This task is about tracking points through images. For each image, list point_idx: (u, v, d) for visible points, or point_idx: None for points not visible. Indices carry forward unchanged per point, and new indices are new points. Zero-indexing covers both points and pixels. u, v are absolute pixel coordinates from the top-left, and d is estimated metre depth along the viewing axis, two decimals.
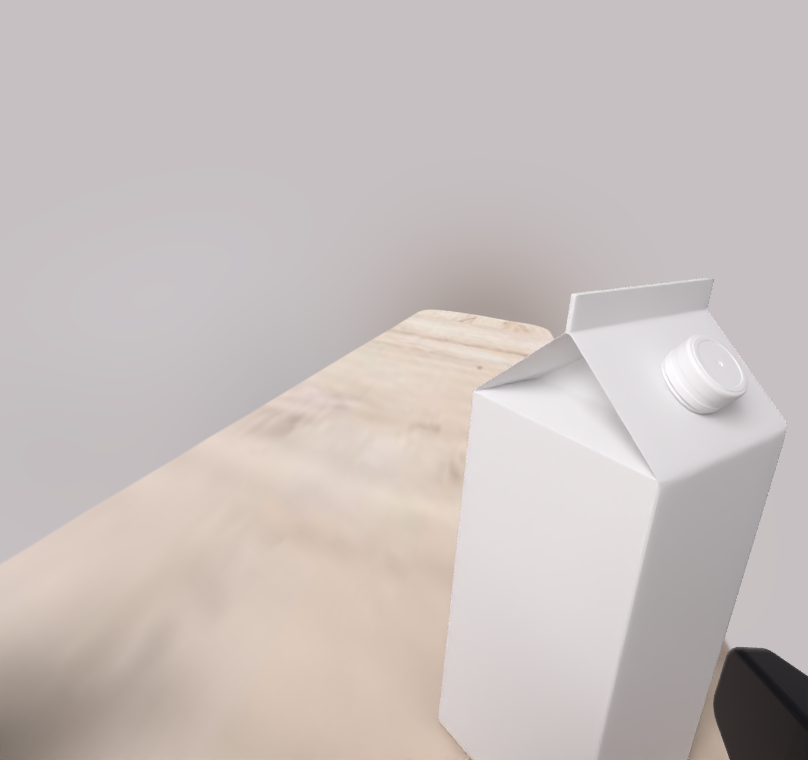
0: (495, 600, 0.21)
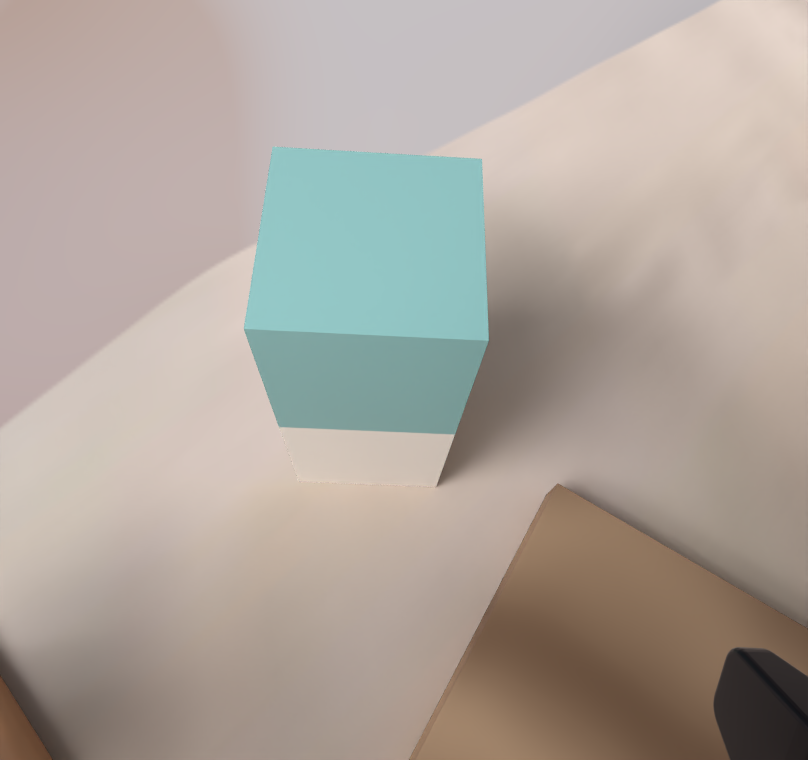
0: None
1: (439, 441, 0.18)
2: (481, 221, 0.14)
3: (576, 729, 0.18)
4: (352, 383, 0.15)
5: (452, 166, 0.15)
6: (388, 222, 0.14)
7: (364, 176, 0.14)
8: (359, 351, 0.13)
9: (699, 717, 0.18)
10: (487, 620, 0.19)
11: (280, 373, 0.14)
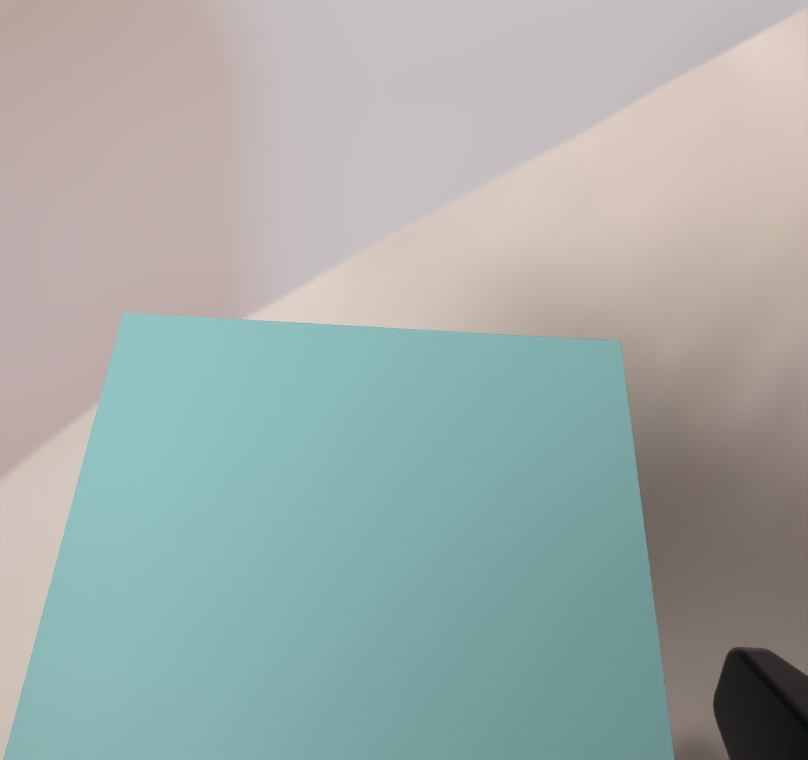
0: None
1: None
2: (637, 528, 0.05)
3: None
4: None
5: (553, 363, 0.06)
6: (400, 536, 0.05)
7: (340, 394, 0.06)
8: None
9: None
10: None
11: None
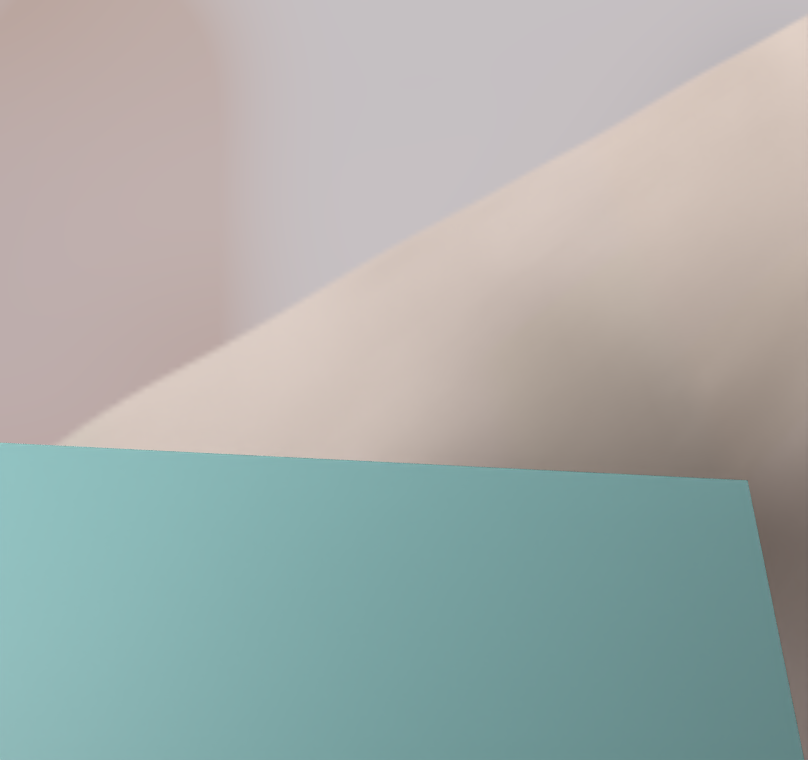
0: None
1: None
2: None
3: None
4: None
5: (644, 521, 0.04)
6: None
7: (302, 583, 0.04)
8: None
9: None
10: None
11: None
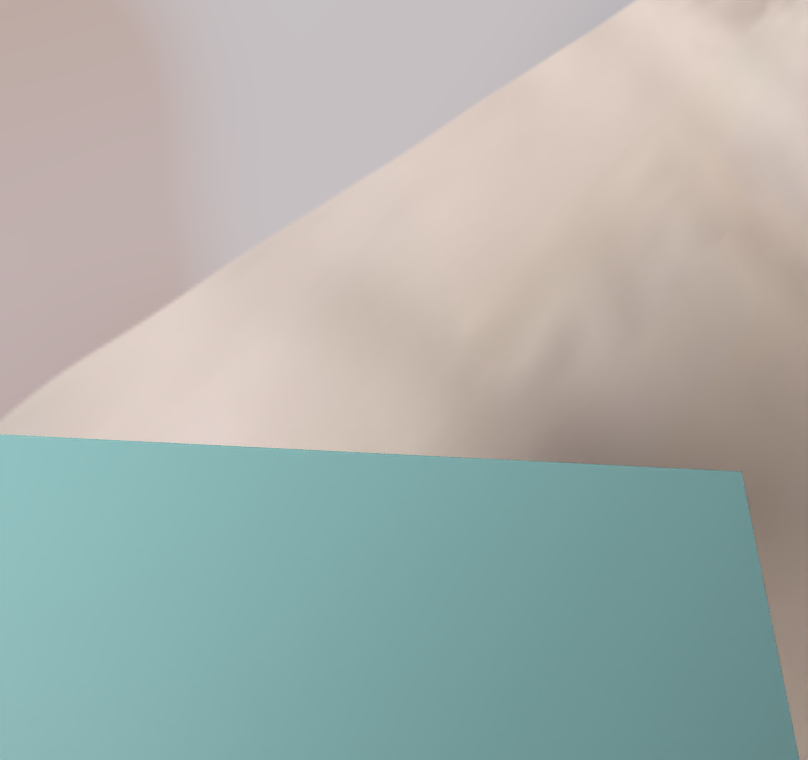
0: None
1: None
2: None
3: None
4: None
5: (637, 512, 0.04)
6: None
7: (297, 575, 0.04)
8: None
9: None
10: None
11: None
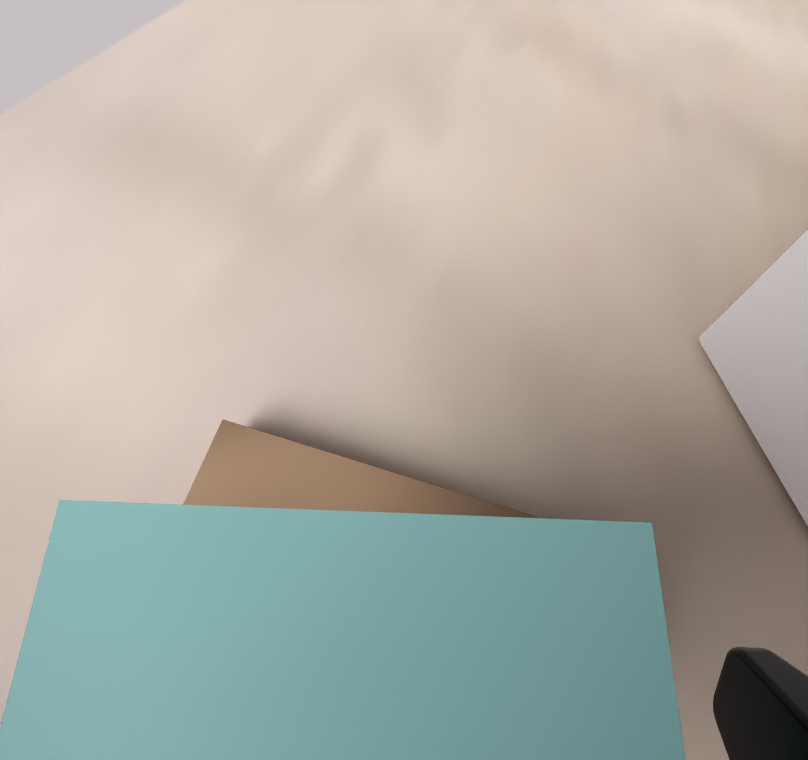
0: None
1: None
2: None
3: None
4: None
5: (572, 554, 0.05)
6: None
7: (320, 606, 0.05)
8: None
9: None
10: None
11: None
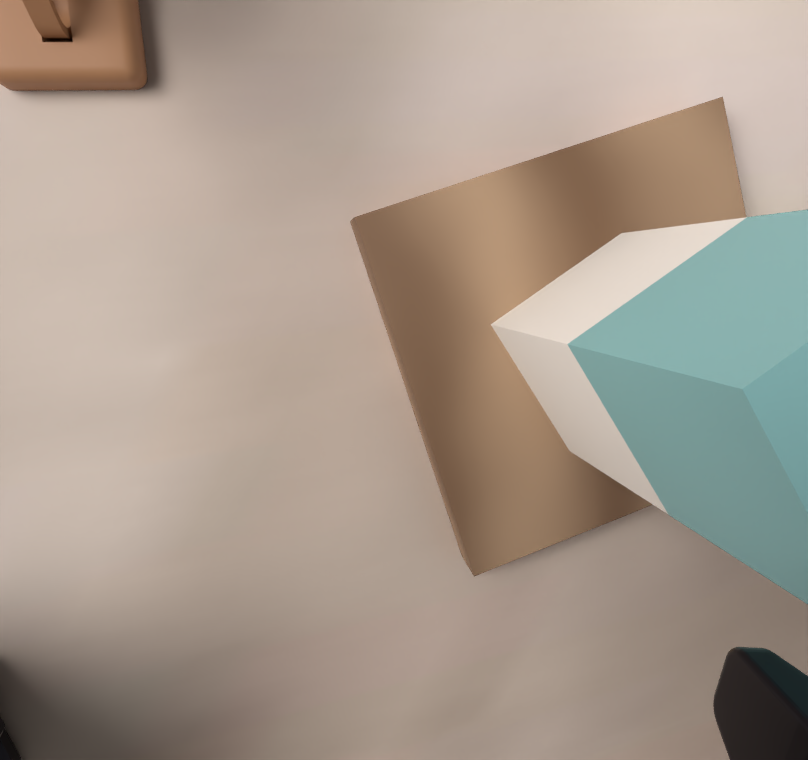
0: None
1: (646, 493, 0.15)
2: None
3: None
4: (698, 460, 0.11)
5: None
6: None
7: None
8: (773, 502, 0.10)
9: None
10: (569, 147, 0.19)
11: (669, 391, 0.10)
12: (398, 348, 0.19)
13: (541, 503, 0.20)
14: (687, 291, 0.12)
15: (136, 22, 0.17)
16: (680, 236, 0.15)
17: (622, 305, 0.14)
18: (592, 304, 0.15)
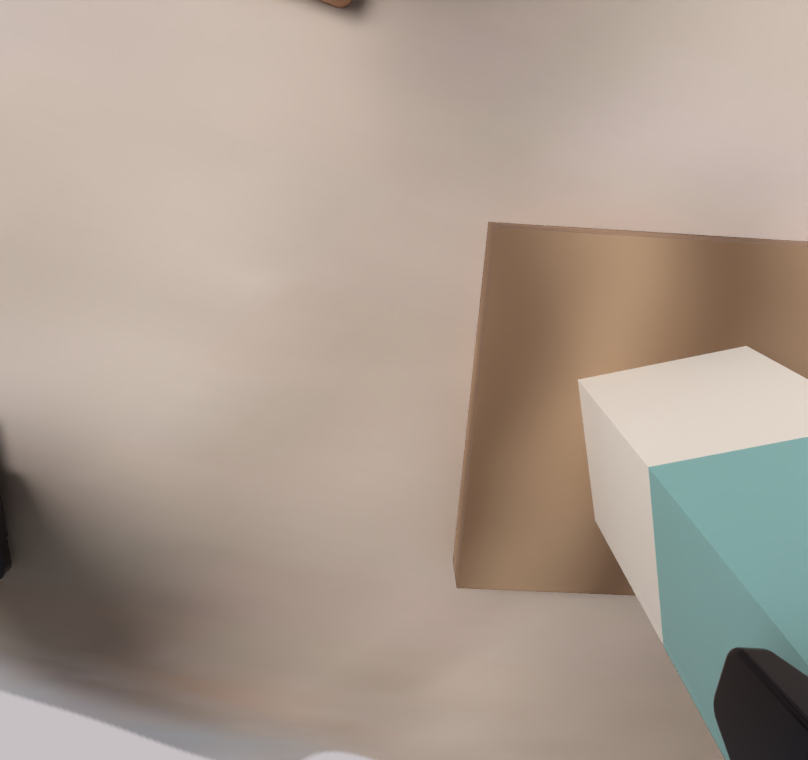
0: None
1: (651, 615, 0.16)
2: None
3: None
4: (723, 651, 0.11)
5: None
6: None
7: None
8: None
9: None
10: (738, 242, 0.17)
11: (731, 593, 0.10)
12: (481, 366, 0.18)
13: (546, 553, 0.21)
14: (791, 484, 0.12)
15: None
16: (807, 398, 0.15)
17: (718, 454, 0.13)
18: (689, 429, 0.14)
